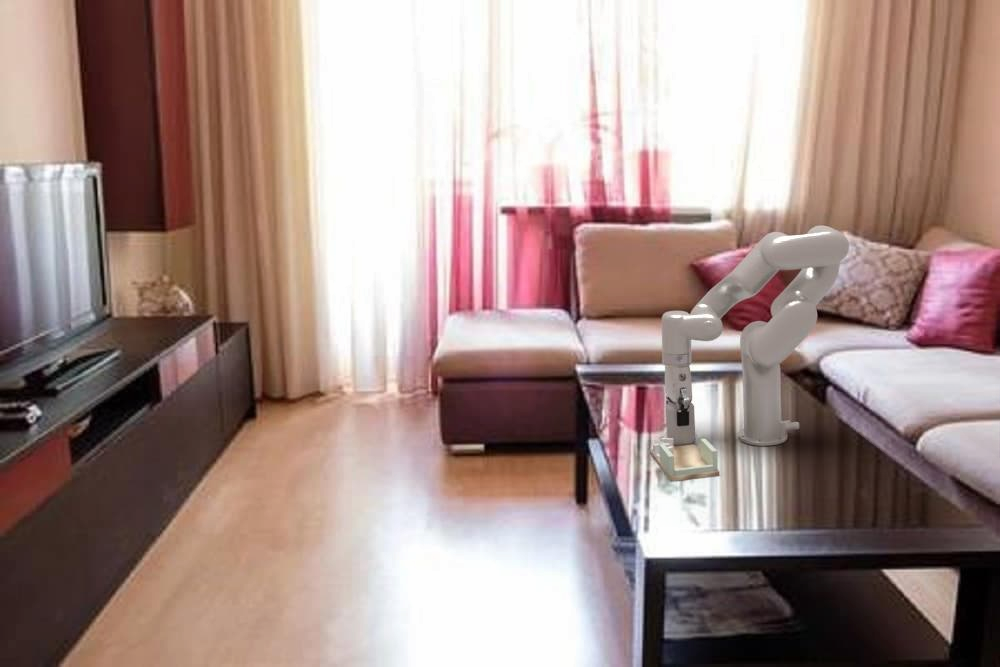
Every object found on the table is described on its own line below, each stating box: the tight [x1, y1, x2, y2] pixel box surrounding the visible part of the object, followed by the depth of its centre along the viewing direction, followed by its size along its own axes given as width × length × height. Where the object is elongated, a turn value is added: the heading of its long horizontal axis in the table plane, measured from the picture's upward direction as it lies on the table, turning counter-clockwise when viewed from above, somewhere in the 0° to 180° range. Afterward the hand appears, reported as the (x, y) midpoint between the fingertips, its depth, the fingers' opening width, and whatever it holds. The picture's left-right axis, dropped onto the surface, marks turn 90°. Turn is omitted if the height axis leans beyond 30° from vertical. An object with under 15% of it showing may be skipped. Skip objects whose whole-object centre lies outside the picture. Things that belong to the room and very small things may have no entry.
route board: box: [649, 443, 720, 482], centre depth 224 cm, size 12×20×1 cm, turn 5°
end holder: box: [659, 438, 719, 476], centre depth 218 cm, size 12×10×5 cm
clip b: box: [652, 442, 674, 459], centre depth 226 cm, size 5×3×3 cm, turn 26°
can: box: [665, 399, 696, 447], centre depth 237 cm, size 8×8×12 cm
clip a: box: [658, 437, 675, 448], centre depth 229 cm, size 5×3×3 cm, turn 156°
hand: (677, 419), depth 237 cm, fingers open, 9 cm apart
